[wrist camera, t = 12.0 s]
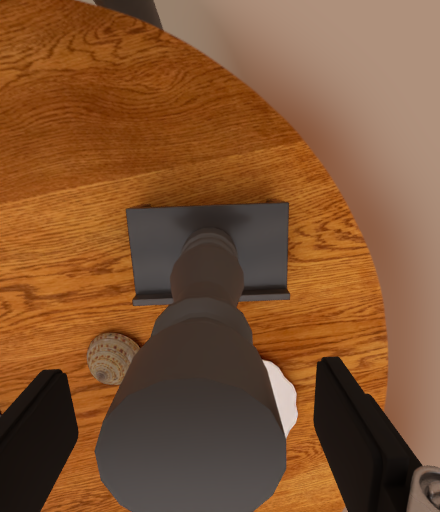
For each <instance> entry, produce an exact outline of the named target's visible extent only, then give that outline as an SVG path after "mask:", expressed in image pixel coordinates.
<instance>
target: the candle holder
mask: <svg viewBox="0 0 440 512" xmlns="http://www.w3.org/2000/svg"><path fill="white" fill-rule="evenodd" d="M170 285H171V293H172V297H173V302H174V303H172V304H170V305H169V306H168V307H167V308H166V309H165V310H164V311H163V313H162V314H161V315H160V316H159V317H158V318H157V319H156V322H155V325H154V328H153V331H152V334H151V337H150V339H149V340H148V341H147V342H146V343H145V344H144V345H143V346H142V347H141V349H140V350H139V351H138V352H137V353H136V354H135V355H134V357H133V359H132V361H131V363H130V365H129V368H128V370H127V372H126V374H125V376H124V378H123V380H122V382H121V385H120V387H119V389H118V391H117V393H116V395H115V397H114V399H113V402H112V404H111V406H110V408H109V410H108V412H107V414H106V416H105V419H104V421H103V424H102V427H101V431H100V434H99V437H98V441H97V444H96V448H95V455H96V460H97V464H98V469H99V473H100V478H101V481H102V482H103V483H104V485H105V486H106V487H107V489H108V490H109V491H110V492H111V494H112V495H113V496H114V497H115V499H116V500H117V501H118V503H119V504H120V505H121V506H123V507H125V508H126V509H128V510H130V511H132V512H253V511H254V510H255V509H257V508H258V507H259V506H260V505H261V504H263V503H264V502H265V501H266V500H267V499H269V498H270V497H271V496H272V495H273V494H274V492H275V490H276V488H277V486H278V484H279V482H280V480H281V478H282V476H283V474H284V472H285V470H286V437H285V433H284V429H283V426H282V422H281V418H280V415H279V411H278V408H277V404H276V400H275V397H274V393H273V389H272V386H271V382H270V378H269V375H268V371H267V369H266V367H265V365H264V363H263V361H262V359H261V357H260V355H259V353H258V351H257V349H256V348H255V347H254V346H253V341H252V330H251V328H250V326H249V324H248V322H247V321H246V319H245V317H244V315H243V313H242V312H241V311H240V310H238V309H237V308H236V307H237V304H238V302H239V299H240V297H241V294H242V291H243V289H244V273H243V270H242V268H241V266H240V264H239V262H238V252H237V249H236V246H235V244H234V242H233V240H232V238H231V237H230V236H229V235H228V234H226V233H225V232H224V231H223V230H220V229H217V228H214V227H210V228H201V229H199V230H197V231H195V232H193V233H192V234H191V235H190V236H189V238H188V239H187V240H186V241H185V243H184V245H183V247H182V250H181V254H180V257H179V259H178V260H177V261H176V262H175V264H174V266H173V269H172V272H171V276H170Z"/></svg>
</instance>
